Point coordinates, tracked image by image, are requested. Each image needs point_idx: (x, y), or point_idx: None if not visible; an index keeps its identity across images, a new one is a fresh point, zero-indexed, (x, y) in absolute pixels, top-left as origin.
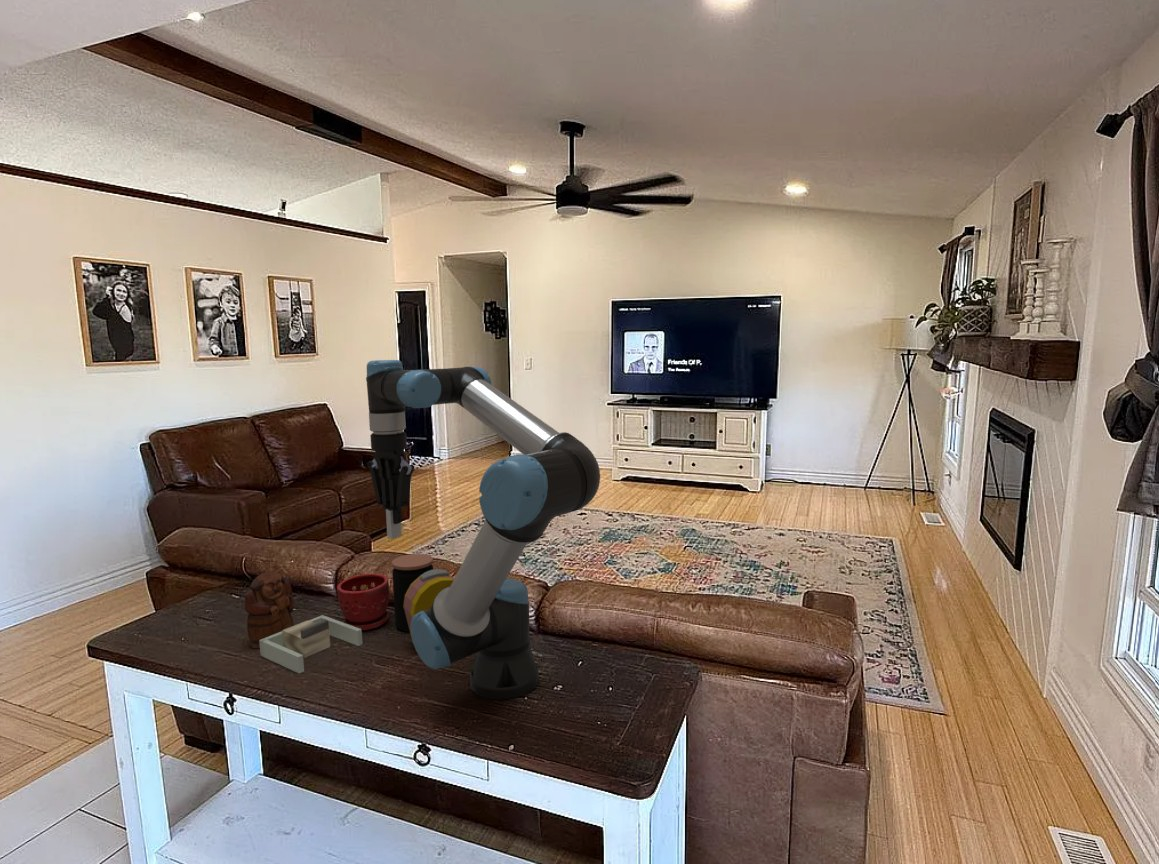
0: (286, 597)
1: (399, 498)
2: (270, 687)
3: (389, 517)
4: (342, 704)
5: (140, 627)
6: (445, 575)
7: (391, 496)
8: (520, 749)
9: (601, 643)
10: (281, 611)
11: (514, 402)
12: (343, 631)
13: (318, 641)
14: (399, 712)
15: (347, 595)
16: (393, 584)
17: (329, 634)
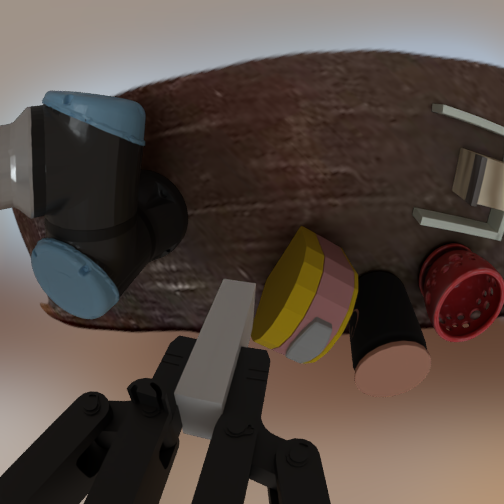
0: None
1: (49, 436)
2: (435, 58)
3: (202, 358)
4: (299, 59)
5: None
6: (287, 348)
7: (120, 474)
8: None
9: (129, 325)
10: None
11: None
12: (451, 219)
13: (463, 175)
14: (207, 85)
15: (476, 266)
16: (413, 320)
17: (474, 220)
